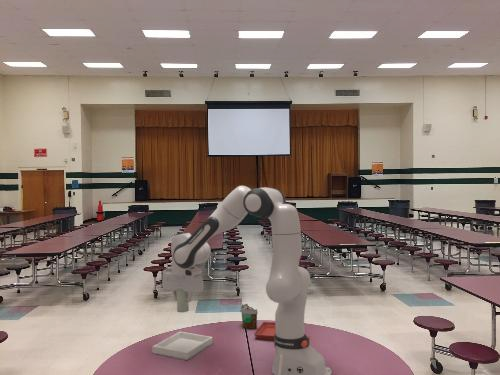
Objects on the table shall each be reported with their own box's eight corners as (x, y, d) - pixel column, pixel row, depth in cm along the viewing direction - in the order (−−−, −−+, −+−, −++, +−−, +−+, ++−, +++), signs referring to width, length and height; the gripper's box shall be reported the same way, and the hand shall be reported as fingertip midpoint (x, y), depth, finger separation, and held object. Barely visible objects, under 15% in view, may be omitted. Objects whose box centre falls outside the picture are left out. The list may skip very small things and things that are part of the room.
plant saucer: (253, 340, 198) (253, 333, 198) (263, 327, 215) (263, 321, 215) (292, 344, 193) (292, 337, 193) (299, 330, 210) (299, 324, 210)
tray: (213, 343, 194) (212, 337, 194) (187, 360, 176) (187, 353, 176) (180, 337, 202) (180, 331, 202) (152, 353, 184) (152, 346, 184)
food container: (236, 324, 220) (236, 305, 220) (247, 322, 223) (247, 303, 223) (246, 331, 209) (246, 311, 209) (257, 329, 211) (257, 309, 211)
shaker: (191, 309, 190) (190, 283, 190) (184, 313, 186) (183, 286, 186) (181, 308, 193) (181, 282, 192) (174, 311, 188) (174, 285, 188)
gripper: (158, 269, 191) (159, 300, 191) (196, 272, 181) (197, 305, 181) (167, 266, 197) (168, 296, 197) (205, 269, 187) (205, 301, 187)
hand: (182, 300), depth 189 cm, fingers closed on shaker, 5 cm apart
